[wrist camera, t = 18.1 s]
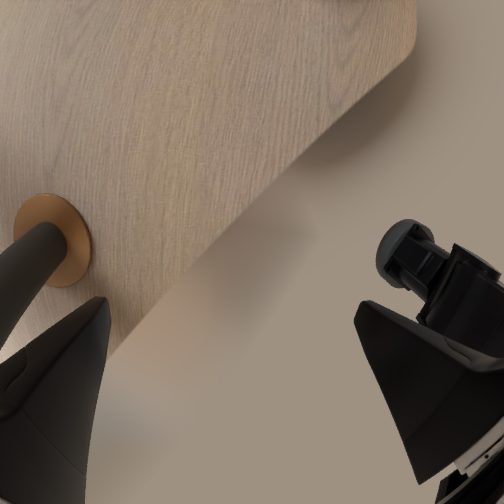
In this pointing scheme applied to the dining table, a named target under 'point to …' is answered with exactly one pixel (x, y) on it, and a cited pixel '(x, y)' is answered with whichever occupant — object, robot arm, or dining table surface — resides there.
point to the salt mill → (27, 271)
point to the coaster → (70, 226)
